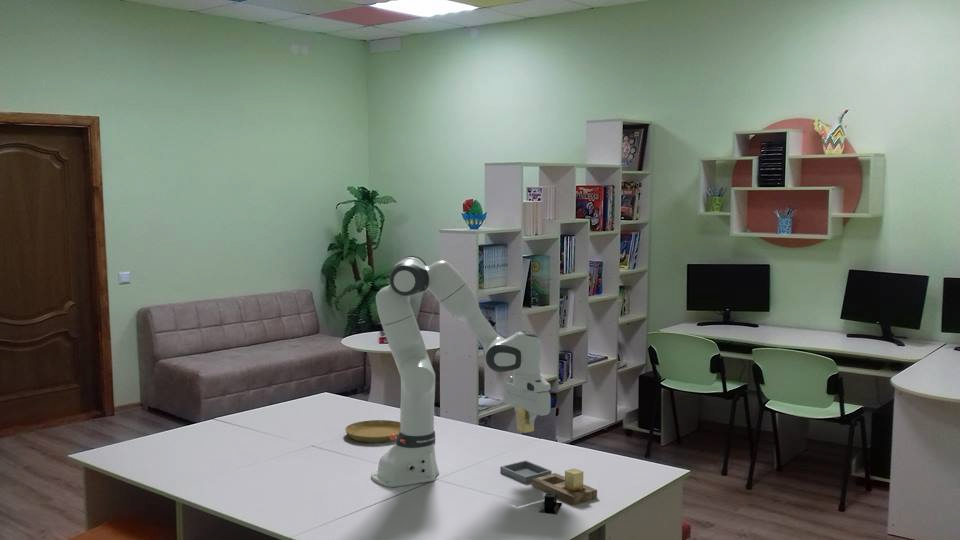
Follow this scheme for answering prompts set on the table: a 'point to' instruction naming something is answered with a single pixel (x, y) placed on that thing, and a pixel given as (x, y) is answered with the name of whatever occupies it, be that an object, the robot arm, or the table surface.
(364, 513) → the table surface
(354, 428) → the plant saucer
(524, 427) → the block
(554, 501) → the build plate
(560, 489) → the pallet
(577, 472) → the block
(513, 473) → the shallow grey tray
